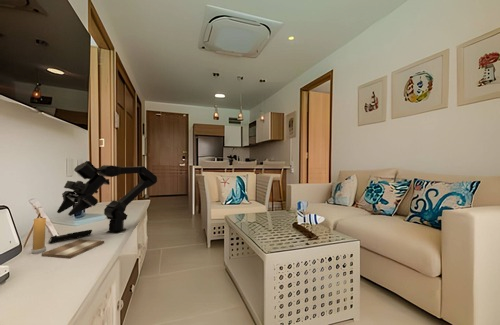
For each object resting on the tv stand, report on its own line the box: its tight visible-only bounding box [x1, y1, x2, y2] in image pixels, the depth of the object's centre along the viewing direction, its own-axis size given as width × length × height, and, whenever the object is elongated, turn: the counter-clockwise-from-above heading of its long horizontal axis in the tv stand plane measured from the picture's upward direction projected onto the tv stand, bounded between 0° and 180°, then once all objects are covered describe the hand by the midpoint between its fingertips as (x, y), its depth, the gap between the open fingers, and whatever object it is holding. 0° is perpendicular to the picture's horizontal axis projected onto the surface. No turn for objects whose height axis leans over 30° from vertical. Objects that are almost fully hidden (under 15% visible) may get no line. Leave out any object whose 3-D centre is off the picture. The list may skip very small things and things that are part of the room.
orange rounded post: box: [30, 217, 47, 255], centre depth 84 cm, size 4×4×13 cm
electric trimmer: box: [48, 229, 93, 245], centre depth 100 cm, size 4×16×3 cm, turn 140°
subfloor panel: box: [40, 238, 105, 259], centre depth 88 cm, size 16×12×1 cm
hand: (63, 213), depth 91 cm, fingers open, 9 cm apart
